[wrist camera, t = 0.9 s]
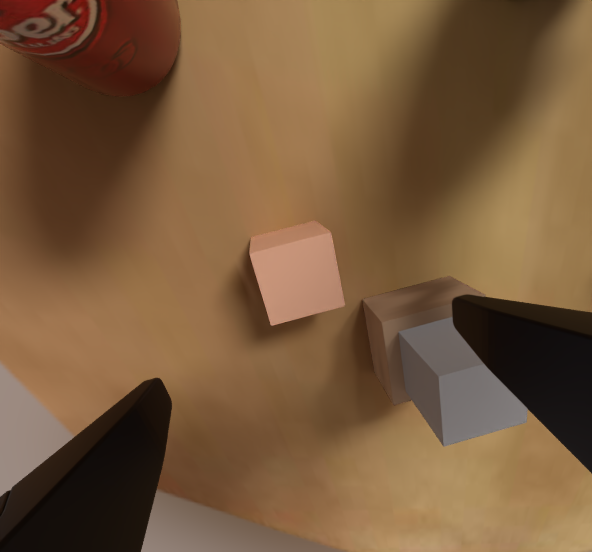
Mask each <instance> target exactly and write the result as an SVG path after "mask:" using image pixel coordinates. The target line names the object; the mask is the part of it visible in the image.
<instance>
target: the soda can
mask: <svg viewBox="0 0 592 552" xmlns="http://www.w3.org/2000/svg"><path fill="white" fill-rule="evenodd" d="M180 37H181V20H180V14H179V8H178V2H177V0H0V44H1V45H3V46H5V47H7V48H9V49H11V50H13V51H15V52H17V53H19V54H21V55H23V56H25V57H27V58H29V59H31V60H32V61H34V62H36V63H38V64H40V65H42V66H44V67H46V68H48V69H50V70H52V71H54V72H56V73H58V74H60V75H62V76H63V77H65V78H67V79H69V80H71V81H73V82H75V83H77V84H79V85H81V86H83V87H85V88H87V89H89V90H92V91H95V92H98V93H100V94H105V95H111V96H117V97H119V96H133V95H136V94H140V93H143V92H145V91H147V90H149V89H151V88H152V87H154V86H156V85H157V84H158V83H159V82H160V81H161V80H162V79H163V78H164V77H165V76H166V75H167V73H168V72H169V70H170V69H171V67H172V66H173V63H174V60H175V58H176V55H177V53H178V48H179V43H180Z"/></svg>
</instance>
